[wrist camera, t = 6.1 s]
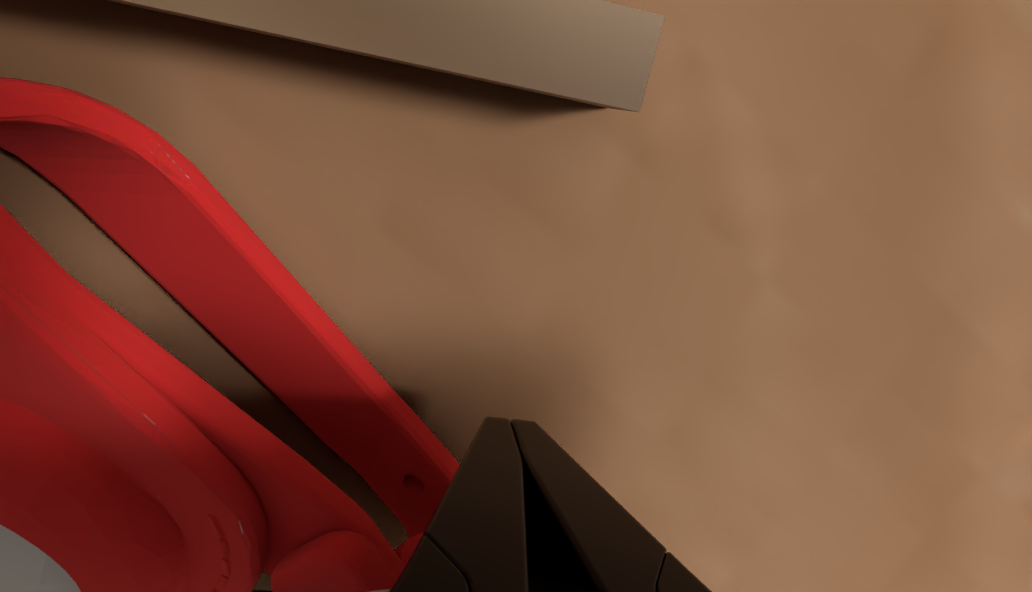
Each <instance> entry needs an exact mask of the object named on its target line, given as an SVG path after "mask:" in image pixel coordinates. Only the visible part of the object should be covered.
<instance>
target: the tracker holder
mask: <svg viewBox="0 0 1032 592" xmlns="http://www.w3.org/2000/svg"><path fill="white" fill-rule="evenodd" d="M0 147H1V148H3V149H5V150H7V151H8V152H10V153H12V154H14V155H16V156H18V157H19V158H20V159H22V160H23V161H24V162H26V163H27V164H28V165H29V166H31V167H32V168H33V169H34V170H36V171H37V172H38V173H39V174H41V175H42V176H43V177H44V178H46V179H47V180H48V181H49V182H51V183H52V184H53V185H55V186H56V187H57V188H58V189H60V190H61V191H62V192H63V193H64V194H66V195H67V196H68V197H69V198H70V199H71V200H72V201H73V202H74V203H75V204H76V205H77V206H78V207H79V208H80V209H81V210H82V211H83V212H84V213H85V214H86V215H88V216H89V217H90V218H91V219H92V220H93V221H94V222H95V223H96V224H97V225H98V226H99V227H100V228H101V229H102V230H103V231H104V232H105V233H106V234H107V235H108V236H110V237H111V238H112V239H113V240H114V241H115V242H116V243H117V244H118V245H119V246H120V247H121V248H122V249H123V250H124V251H125V252H126V253H127V254H128V255H129V256H130V257H132V258H133V259H134V260H135V261H136V262H137V263H138V264H139V265H140V266H141V267H142V268H143V269H144V270H145V271H146V272H147V273H148V274H149V275H150V276H151V277H152V278H154V279H155V280H156V281H157V282H158V283H159V284H160V285H161V286H162V287H163V288H164V289H165V290H166V291H167V292H168V293H169V294H170V295H171V296H172V297H173V298H174V299H176V300H177V301H178V302H179V303H180V304H181V305H182V306H183V307H184V308H185V309H186V310H187V311H188V312H189V313H190V314H191V315H192V316H193V317H194V318H195V319H196V320H197V321H199V322H200V323H201V324H202V325H203V326H204V327H205V328H206V329H207V330H208V331H209V332H210V333H211V334H212V335H213V336H214V337H215V338H216V339H217V340H218V341H219V342H220V343H222V344H223V345H224V346H225V347H226V348H227V349H228V350H229V351H230V352H231V353H232V354H233V355H234V356H235V357H236V358H237V359H238V360H239V361H240V362H241V363H242V364H243V365H245V366H246V367H247V368H248V369H249V370H250V371H251V372H252V373H253V374H254V375H255V376H256V377H257V378H258V379H259V380H260V381H261V382H262V383H263V384H264V385H265V386H266V387H268V388H269V389H270V390H271V391H272V392H273V393H274V394H275V395H276V396H277V397H278V398H279V399H280V400H281V401H282V402H283V403H284V404H285V405H286V406H287V407H288V408H289V409H291V410H292V411H293V412H294V413H295V414H296V415H297V416H298V417H299V418H300V419H301V420H302V421H303V422H304V423H305V424H306V425H307V426H308V427H309V428H310V429H311V430H312V431H313V432H314V433H315V434H316V435H317V436H318V437H319V438H320V439H321V440H322V441H323V442H324V443H325V444H327V445H328V446H329V447H330V448H331V449H332V450H333V451H335V452H336V453H337V454H338V455H339V456H340V457H341V458H342V459H344V460H345V461H346V462H347V463H348V464H349V465H350V466H351V467H353V468H354V469H355V470H356V471H357V472H358V473H359V474H360V475H361V476H362V477H363V479H364V480H365V481H366V482H367V483H368V484H369V486H370V487H371V488H372V489H373V490H374V492H375V493H376V494H377V495H378V496H379V497H380V499H381V500H382V501H383V502H384V503H385V504H386V506H387V507H388V508H389V509H390V510H391V511H392V513H393V514H394V515H395V516H396V517H397V518H398V520H399V521H400V522H401V523H402V525H403V527H404V528H405V530H406V533H407V535H408V538H409V539H408V540H407V541H406V542H404V543H403V544H402V545H401V546H400V547H398V548H397V549H396V550H393V549H392V547H391V546H390V544H389V543H388V541H387V540H386V539H385V537H384V536H383V534H382V533H381V531H380V530H379V528H378V527H377V526H376V524H375V523H374V521H373V520H372V519H371V518H370V516H369V515H368V514H367V513H366V512H365V511H364V510H363V509H362V508H361V507H360V506H359V505H358V504H357V503H356V502H355V501H353V500H352V499H351V498H350V497H349V496H348V495H346V494H345V493H344V492H343V491H342V490H341V489H339V488H338V487H337V486H336V485H335V484H333V483H332V482H331V481H330V480H329V479H328V478H326V477H325V476H324V475H323V474H322V473H321V472H319V471H318V470H317V469H316V468H315V467H313V466H312V465H311V464H310V463H309V462H308V461H306V460H305V459H304V458H303V457H302V456H300V455H299V454H298V453H296V452H295V451H294V450H293V449H291V448H290V447H289V446H287V445H286V444H285V443H284V442H282V441H281V440H280V439H279V438H277V437H276V436H275V435H273V434H272V433H271V432H270V431H268V430H267V429H266V428H264V427H263V426H262V425H261V424H259V423H258V422H257V421H256V420H254V419H253V418H252V417H250V416H249V415H248V414H247V413H245V412H244V411H243V410H241V409H240V408H239V407H238V406H236V405H235V404H234V403H233V402H231V401H230V400H229V399H227V398H226V397H225V396H224V395H222V394H221V393H220V392H218V391H217V390H216V389H215V388H213V387H212V386H211V385H210V384H208V383H207V382H206V381H204V380H203V379H202V378H201V377H199V376H198V375H197V374H195V373H194V372H193V371H192V370H190V369H189V368H188V367H186V366H185V365H184V364H183V363H181V362H180V361H179V360H178V359H176V358H175V357H174V356H172V355H171V354H170V353H169V352H167V351H166V350H165V349H163V348H162V347H161V346H160V345H158V344H157V343H156V342H155V341H153V340H152V339H151V338H149V337H148V336H147V335H146V334H144V333H143V332H142V331H140V330H139V329H138V328H137V327H135V326H134V325H133V324H132V323H130V322H129V321H128V320H126V319H125V318H124V317H123V316H121V315H120V314H119V313H117V312H116V311H115V310H114V309H112V308H111V307H110V306H109V305H107V304H106V303H105V302H103V301H102V300H101V299H100V298H98V297H97V296H96V295H94V294H93V293H92V292H91V291H89V290H88V289H87V288H85V287H84V286H83V285H82V284H80V283H79V282H78V281H77V280H75V279H74V278H73V277H72V276H70V275H69V274H68V273H67V272H66V271H65V270H64V269H63V268H62V267H61V266H60V265H59V264H58V263H57V262H56V261H55V260H54V259H53V258H52V257H51V256H50V255H49V254H48V253H47V252H46V251H45V250H44V249H43V248H42V247H41V246H40V244H39V243H38V242H37V241H36V240H35V239H34V238H33V237H32V236H31V235H30V234H29V233H28V232H27V231H26V230H25V229H24V228H23V227H22V226H21V225H20V224H19V223H18V222H17V221H16V220H15V219H14V218H13V217H12V216H11V215H10V214H9V213H8V212H7V211H6V210H5V208H4V207H3V206H2V205H1V204H0V592H251V591H252V590H253V589H254V587H255V585H256V583H257V581H258V580H259V578H260V576H261V574H262V572H263V571H264V572H265V573H267V574H269V575H270V576H271V589H272V592H389V591H390V590H391V588H392V587H393V585H394V584H395V582H396V581H397V579H398V577H399V575H400V574H401V572H402V570H403V569H404V567H405V565H406V564H407V562H408V560H409V559H410V557H411V555H412V553H413V551H414V549H415V548H416V546H417V544H418V542H419V540H420V538H421V537H422V536H423V533H424V531H425V530H426V528H427V526H428V524H429V522H430V520H431V518H432V516H433V514H434V513H435V511H436V509H437V507H438V505H439V503H440V501H441V499H442V498H443V496H444V494H445V492H446V490H447V488H448V486H449V484H450V482H451V481H452V479H453V477H454V475H455V473H456V471H457V469H458V467H459V466H460V464H459V463H458V462H457V461H456V460H455V458H454V457H453V456H452V455H451V454H450V453H449V451H448V450H447V449H446V448H445V447H444V446H443V444H442V443H441V442H440V441H439V440H438V439H437V437H436V436H435V435H434V434H433V433H432V432H431V431H430V429H429V428H428V427H427V426H426V425H425V424H424V422H423V421H422V420H421V419H420V418H419V417H418V416H417V415H416V414H415V413H414V412H413V411H412V409H411V408H410V407H409V406H408V405H407V404H406V403H405V402H404V401H403V400H402V399H401V398H400V396H399V395H398V394H397V393H396V392H395V391H394V390H393V389H392V388H391V387H390V386H389V384H388V383H387V382H386V381H385V380H384V379H383V378H382V377H381V375H380V374H379V373H378V372H377V371H376V370H375V369H374V368H373V366H372V365H371V364H370V363H369V362H368V361H367V360H366V358H365V357H364V356H363V355H362V354H361V353H360V352H359V351H358V349H357V348H356V347H355V346H354V345H353V344H352V343H351V341H350V340H349V339H348V338H347V337H346V336H345V335H344V334H343V332H342V331H341V330H340V329H339V328H338V327H337V326H336V325H335V323H334V322H333V321H332V320H331V319H330V318H329V317H328V315H327V314H326V313H325V312H324V311H323V310H322V309H321V308H320V306H319V305H318V304H317V303H316V302H315V301H314V300H313V299H312V297H311V296H310V295H309V294H308V293H307V292H306V291H305V289H304V288H303V287H302V286H301V285H300V284H299V283H298V282H297V280H296V279H295V278H294V277H293V276H292V275H291V274H290V273H289V271H288V270H287V269H286V268H285V267H284V266H283V265H282V263H281V262H280V261H279V260H278V259H277V258H276V257H275V256H274V254H273V253H272V252H271V251H270V250H269V249H268V248H267V246H266V245H265V244H264V243H263V242H262V241H261V240H260V239H259V237H258V236H257V235H256V234H255V233H254V232H253V231H252V230H251V228H250V227H249V226H248V225H247V224H246V223H245V222H244V220H243V219H242V218H241V217H240V216H239V215H238V214H237V213H236V211H235V210H234V209H233V208H232V207H231V206H230V205H229V204H228V202H227V201H226V200H225V199H224V198H223V197H222V196H221V194H220V193H219V192H218V191H217V190H216V189H215V188H214V187H213V185H212V184H211V183H210V182H209V181H208V180H207V179H206V178H205V176H204V175H203V174H202V173H201V172H200V171H199V170H198V169H197V168H196V166H195V165H194V164H193V163H191V162H190V161H189V160H188V159H187V158H186V157H184V156H183V155H182V154H181V153H180V152H179V151H178V150H176V149H175V148H174V147H173V146H172V145H171V144H169V143H168V142H167V141H166V140H165V139H164V138H163V137H161V136H160V135H159V134H158V133H157V132H155V131H153V130H152V129H150V128H148V127H147V126H145V125H144V124H142V123H140V122H139V121H137V120H135V119H134V118H132V117H130V116H129V115H127V114H125V113H124V112H122V111H121V110H119V109H117V108H115V107H113V106H110V105H108V104H106V103H103V102H101V101H98V100H96V99H94V98H91V97H89V96H87V95H84V94H82V93H79V92H77V91H74V90H69V89H65V88H61V87H57V86H53V85H49V84H44V83H38V82H32V81H27V80H21V79H11V78H0Z"/></svg>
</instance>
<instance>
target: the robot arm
mask: <svg viewBox="0 0 1032 592" xmlns="http://www.w3.org/2000/svg"><path fill="white" fill-rule="evenodd" d="M389 592H712V591H711V590H709V589H708V588H707V587H706V586H705V585H704V584H703V583H702V582H701V581H700V580H699V579H698V578H696V577H695V576H694V575H693V574H692V573H691V572H690V571H689V570H688V569H687V568H686V567H685V566H684V565H683V564H682V563H681V562H680V561H679V560H678V559H676V558H675V557H674V556H673V555H672V554H671V553H670V552H667V553H666V548H665V547H664V546H663V545H662V544H661V543H660V542H659V541H658V540H657V539H656V538H655V537H653V536H652V535H651V534H650V533H649V532H648V531H647V530H646V529H645V528H644V527H643V526H642V525H641V524H640V523H639V522H638V521H637V520H636V519H635V518H634V517H633V516H632V515H631V514H630V513H629V512H628V511H627V510H626V509H625V508H623V507H622V506H621V505H620V504H619V503H618V502H617V501H616V500H615V499H614V498H613V497H612V496H611V495H610V494H609V493H608V492H607V491H606V490H605V489H604V488H603V487H602V486H601V485H600V484H599V483H598V482H597V481H596V480H595V479H593V478H592V477H591V476H590V475H589V474H588V473H587V472H586V471H585V470H584V469H583V468H582V467H581V466H580V465H579V464H578V463H577V462H576V461H575V460H574V459H573V458H572V457H571V456H570V455H569V454H568V453H567V452H566V451H564V450H563V449H562V448H561V447H560V446H559V445H558V444H557V443H556V442H555V441H554V440H553V439H552V438H551V437H550V436H549V435H548V434H547V433H546V432H545V431H544V430H543V429H542V428H541V427H540V426H539V425H538V424H536V423H535V422H533V421H527V420H517V419H513V420H511V421H509V420H508V419H506V418H498V417H486V418H485V419H484V420H483V422H482V424H481V426H480V428H479V430H478V432H477V434H476V435H475V437H474V439H473V441H472V443H471V445H470V447H469V449H468V450H467V452H466V454H465V456H464V458H463V460H462V462H461V464H460V466H459V467H458V469H457V471H456V473H455V475H454V477H453V479H452V481H451V482H450V484H449V486H448V488H447V490H446V492H445V494H444V496H443V498H442V499H441V501H440V503H439V505H438V507H437V509H436V511H435V513H434V514H433V516H432V518H431V520H430V522H429V524H428V526H427V528H426V530H425V531H424V533H423V536H422V537H421V538H420V540H419V542H418V544H417V546H416V548H415V549H414V551H413V553H412V555H411V557H410V559H409V560H408V562H407V564H406V565H405V567H404V569H403V570H402V572H401V574H400V575H399V577H398V579H397V581H396V582H395V584H394V585H393V587H392V588H391V590H390V591H389Z"/></svg>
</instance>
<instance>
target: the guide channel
mask: <svg viewBox="0 0 1032 592" xmlns="http://www.w3.org/2000/svg"><path fill="white" fill-rule="evenodd" d="M107 1H112V2H117V3H121V4H126V5H131V6H135V7H140V8H145V9H149V10H154V11H159V12H163V13H168V14H173V15H177V16H182V17H187V18H191V19H196V20H201V21H205V22H210V23H215V24H219V25H224V26H228V27H233V28H238V29H242V30H247V31H252V32H256V33H261V34H266V35H270V36H275V37H280V38H284V39H289V40H294V41H298V42H303V43H308V44H312V45H317V46H322V47H326V48H331V49H336V50H340V51H345V52H350V53H354V54H359V55H364V56H368V57H373V58H377V59H382V60H387V61H391V62H396V63H401V64H405V65H410V66H415V67H419V68H424V69H429V70H433V71H438V72H443V73H447V74H452V75H457V76H461V77H466V78H471V79H475V80H480V81H485V82H489V83H494V84H499V85H503V86H508V87H512V88H517V89H522V90H526V91H531V92H536V93H540V94H545V95H550V96H554V97H559V98H564V99H568V100H573V101H578V102H582V103H587V104H592V105H596V106H601V107H606V108H611V109H619V110H626V111H634V112H640V109H641V105H642V102H643V98H644V94H645V90H646V86H647V82H648V79H649V75H650V71H651V67H652V63H653V60H654V56H655V52H656V48H657V44H658V40H659V37H660V33H661V29H662V25H663V21H664V18H665V16H664V15H660V14H656V13H652V12H648V11H644V10H640V9H636V8H632V7H628V6H624V5H620V4H616V3H612V2H608V1H604V0H107Z"/></svg>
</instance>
